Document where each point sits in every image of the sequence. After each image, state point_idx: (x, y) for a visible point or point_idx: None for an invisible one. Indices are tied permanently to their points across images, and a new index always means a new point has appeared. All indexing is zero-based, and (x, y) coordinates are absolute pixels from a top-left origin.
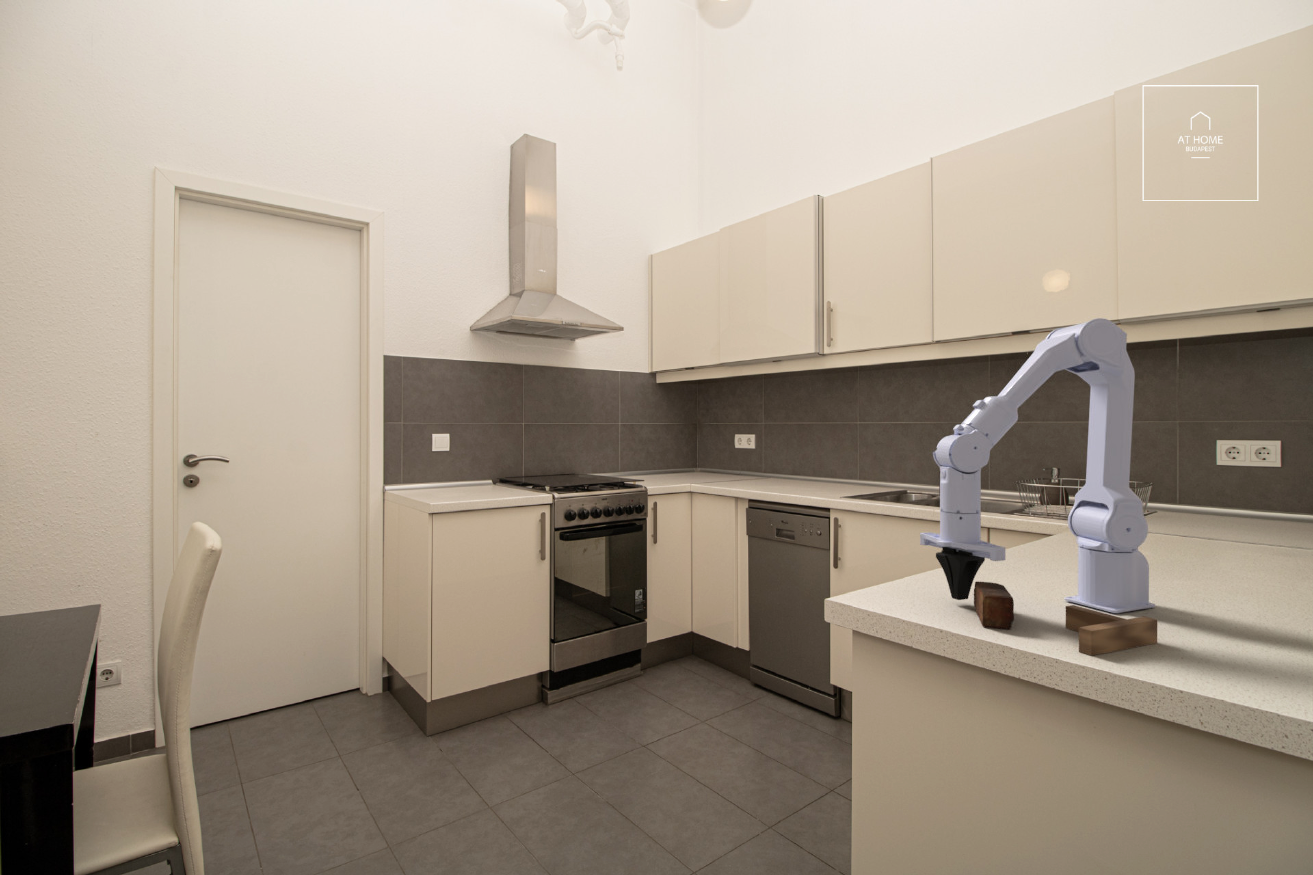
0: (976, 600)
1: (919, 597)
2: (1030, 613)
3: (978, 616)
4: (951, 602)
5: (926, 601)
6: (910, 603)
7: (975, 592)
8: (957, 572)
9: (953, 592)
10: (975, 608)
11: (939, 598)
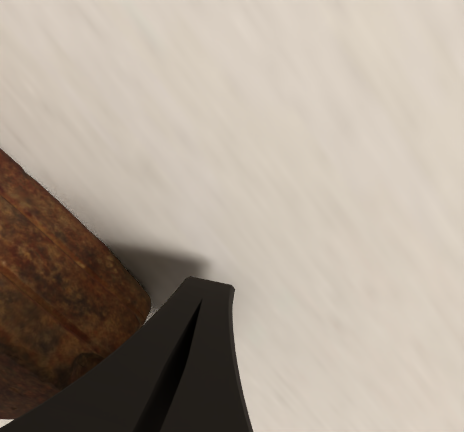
0: (44, 257)
1: (434, 255)
2: None
3: (10, 162)
4: (265, 292)
5: (356, 214)
6: (399, 89)
7: (59, 310)
8: (82, 393)
9: (204, 298)
10: (103, 254)
11: (345, 311)
